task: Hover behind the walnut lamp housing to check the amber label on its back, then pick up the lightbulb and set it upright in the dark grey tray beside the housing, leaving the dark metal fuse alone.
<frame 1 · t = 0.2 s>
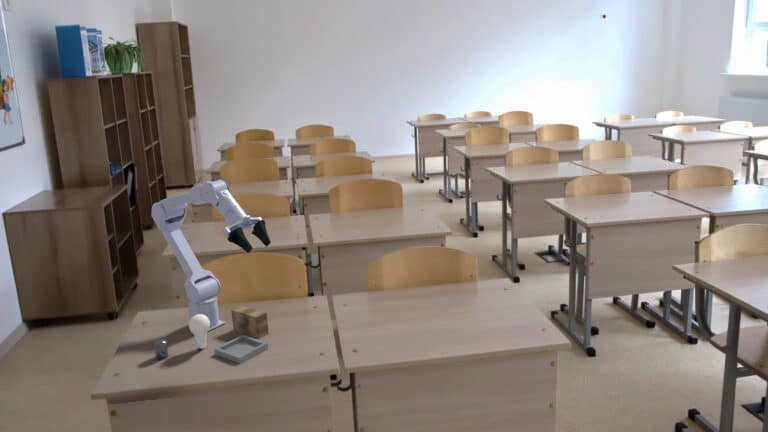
hand: (259, 247, 185), 31 cm above the table, tool tilted 45°, fingers open, 7 cm apart
lamp housing: (250, 331, 202), on the table
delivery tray: (241, 351, 189), on the table
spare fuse: (162, 357, 187), on the table
lightbulb: (202, 349, 192), on the table
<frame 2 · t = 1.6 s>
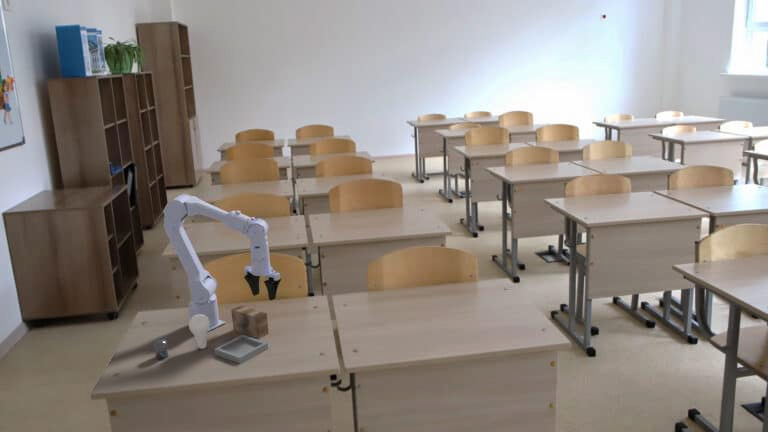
hand: (264, 297, 205), 9 cm above the table, tool pointing down, fingers open, 7 cm apart
nothing on the table moved.
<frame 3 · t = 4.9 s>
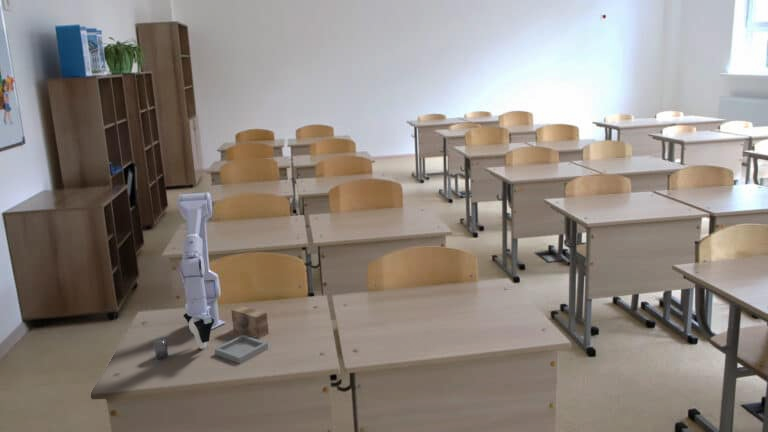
hand: (201, 338, 191), 3 cm above the table, tool pointing down, fingers closed on lightbulb, 6 cm apart
lightbulb: (202, 349, 192), on the table, touching gripper
everything else where it was.
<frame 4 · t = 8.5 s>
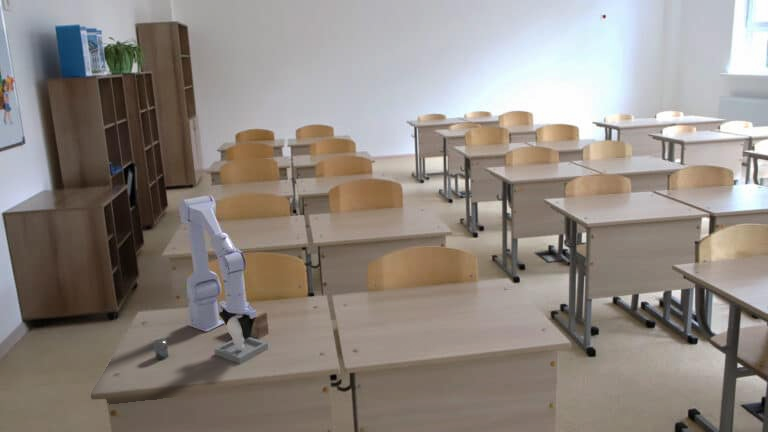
hand: (240, 335, 187), 5 cm above the table, tool pointing down, fingers closed on lightbulb, 6 cm apart
lightbulb: (239, 351, 188), resting on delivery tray, touching gripper
everything else where it was.
when the fingers open (5 cm above the table, at t = 9.2 s): lightbulb stays where it is, resting on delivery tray.
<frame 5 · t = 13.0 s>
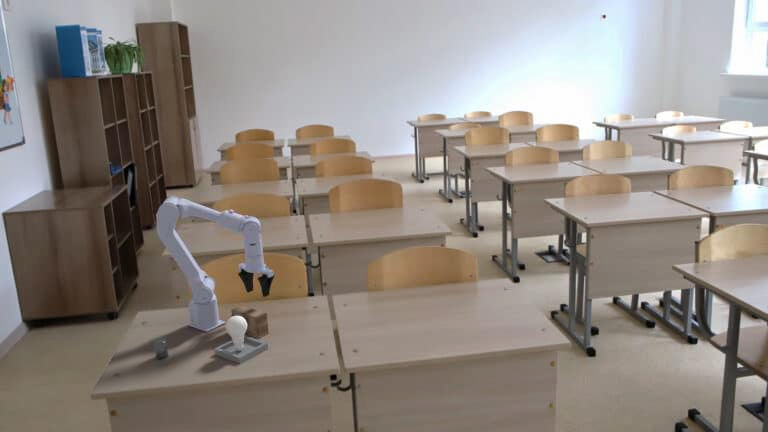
hand: (258, 293, 208), 9 cm above the table, tool pointing down, fingers open, 7 cm apart
lightbulb: (239, 351, 188), resting on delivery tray
everything else where it was.
at the end: lightbulb 0.8 cm off-centre on the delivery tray, point 0.4 cm above the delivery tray's base; lightbulb tilted 0°; the gripper is holding nothing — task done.
